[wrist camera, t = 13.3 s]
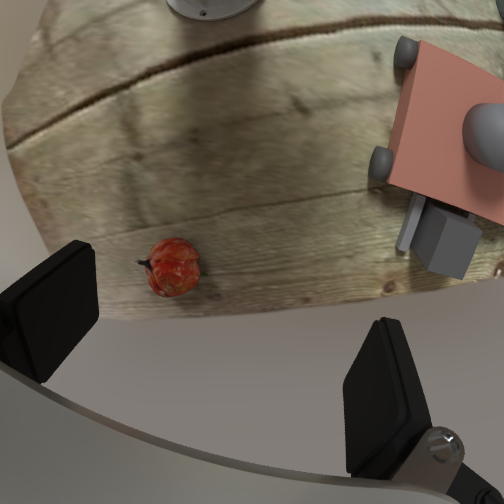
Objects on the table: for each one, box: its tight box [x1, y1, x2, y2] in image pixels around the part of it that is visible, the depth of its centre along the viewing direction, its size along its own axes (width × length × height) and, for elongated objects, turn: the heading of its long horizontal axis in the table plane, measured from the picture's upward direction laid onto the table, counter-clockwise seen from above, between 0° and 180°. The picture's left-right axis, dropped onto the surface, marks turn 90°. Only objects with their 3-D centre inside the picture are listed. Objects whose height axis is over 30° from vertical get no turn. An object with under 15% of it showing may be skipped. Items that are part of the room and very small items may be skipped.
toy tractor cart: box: [369, 36, 504, 252], centre depth 27 cm, size 24×21×9 cm
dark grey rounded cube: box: [410, 200, 483, 280], centre depth 32 cm, size 6×5×7 cm
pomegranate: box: [135, 238, 208, 298], centre depth 39 cm, size 7×7×10 cm
